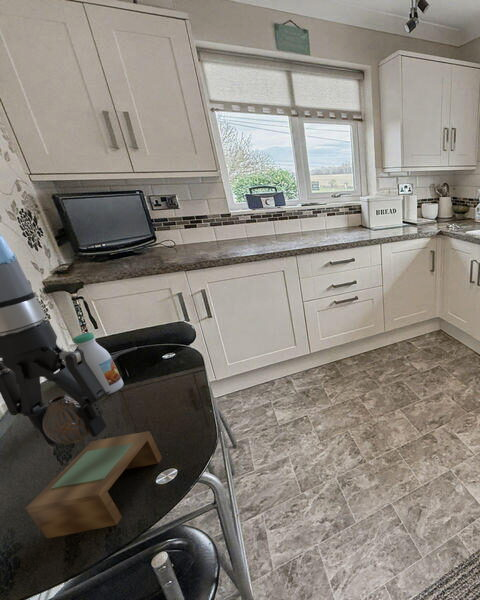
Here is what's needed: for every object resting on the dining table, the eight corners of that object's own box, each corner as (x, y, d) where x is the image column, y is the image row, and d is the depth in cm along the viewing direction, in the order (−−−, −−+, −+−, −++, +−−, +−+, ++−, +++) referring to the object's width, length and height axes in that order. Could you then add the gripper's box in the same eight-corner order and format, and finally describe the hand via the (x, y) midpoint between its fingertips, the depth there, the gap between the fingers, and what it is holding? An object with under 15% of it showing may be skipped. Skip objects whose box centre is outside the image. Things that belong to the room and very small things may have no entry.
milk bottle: (103, 399, 102) (74, 342, 95) (89, 395, 105) (60, 340, 98) (129, 384, 109) (104, 330, 102) (115, 381, 112) (90, 329, 105)
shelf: (46, 539, 60) (24, 507, 57) (107, 468, 75) (91, 440, 72) (116, 525, 61) (98, 493, 58) (162, 457, 76) (149, 430, 73)
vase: (56, 436, 63) (34, 399, 60) (102, 418, 67) (83, 382, 64) (51, 456, 58) (26, 417, 55) (101, 435, 62) (80, 397, 59)
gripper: (96, 310, 59) (144, 413, 67) (-26, 327, 57) (39, 431, 65) (62, 327, 52) (120, 439, 60) (-78, 347, 50) (1, 460, 58)
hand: (78, 435), depth 62 cm, fingers closed on vase, 7 cm apart
